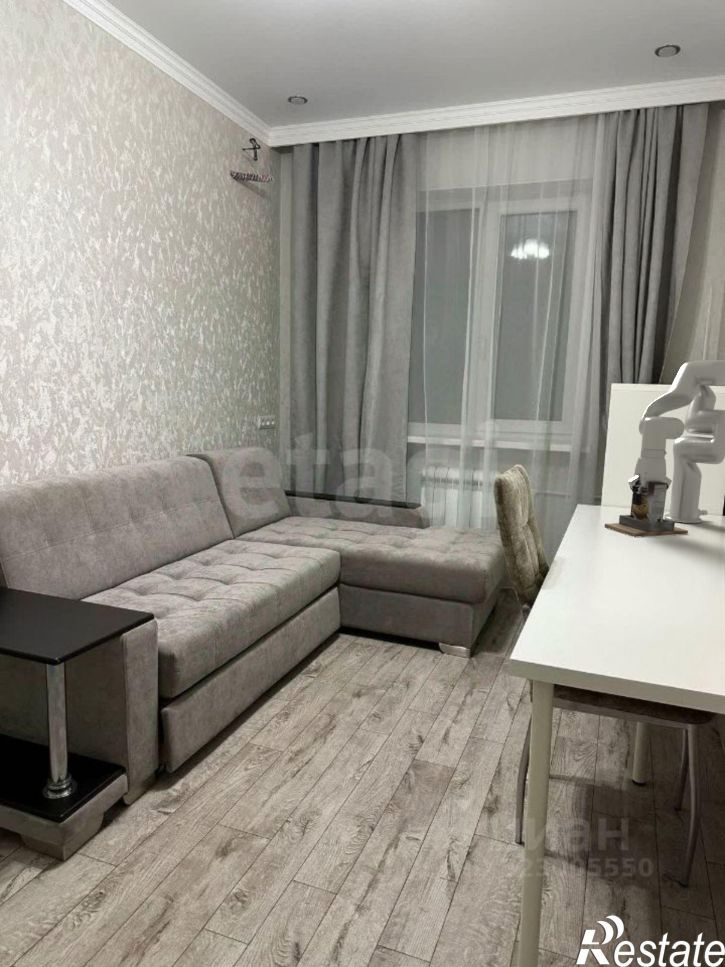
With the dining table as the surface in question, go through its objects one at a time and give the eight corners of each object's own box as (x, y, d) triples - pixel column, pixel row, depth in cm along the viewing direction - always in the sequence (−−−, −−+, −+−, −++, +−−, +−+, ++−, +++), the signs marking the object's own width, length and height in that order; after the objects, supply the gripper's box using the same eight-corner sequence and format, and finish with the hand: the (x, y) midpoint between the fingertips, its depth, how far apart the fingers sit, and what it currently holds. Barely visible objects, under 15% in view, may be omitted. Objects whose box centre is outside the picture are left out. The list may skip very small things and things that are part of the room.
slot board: (655, 524, 236) (656, 513, 235) (687, 534, 221) (689, 521, 221) (604, 527, 229) (605, 515, 228) (634, 536, 215) (635, 524, 214)
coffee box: (628, 524, 228) (633, 478, 226) (642, 523, 230) (646, 478, 228) (648, 530, 220) (654, 482, 217) (663, 529, 222) (668, 482, 220)
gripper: (665, 453, 227) (660, 501, 230) (623, 453, 222) (619, 503, 225) (681, 455, 220) (676, 505, 223) (639, 455, 215) (634, 507, 218)
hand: (647, 504), depth 224 cm, fingers open, 9 cm apart
